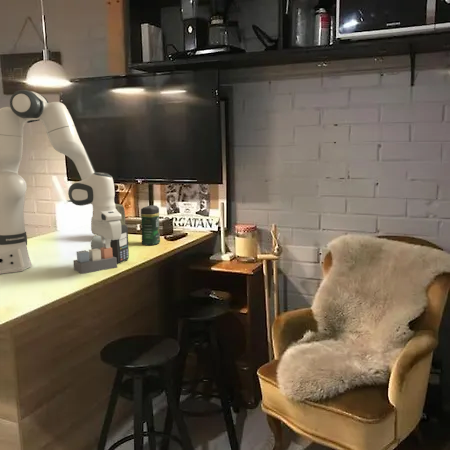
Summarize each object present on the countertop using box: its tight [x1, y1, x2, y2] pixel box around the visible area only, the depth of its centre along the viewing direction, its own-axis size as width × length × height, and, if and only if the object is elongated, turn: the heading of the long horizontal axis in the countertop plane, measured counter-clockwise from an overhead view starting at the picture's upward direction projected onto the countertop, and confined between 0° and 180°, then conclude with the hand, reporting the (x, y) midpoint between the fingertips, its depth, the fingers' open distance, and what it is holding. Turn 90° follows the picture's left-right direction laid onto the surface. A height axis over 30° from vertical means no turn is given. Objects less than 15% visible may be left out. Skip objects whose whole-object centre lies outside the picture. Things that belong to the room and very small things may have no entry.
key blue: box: [76, 250, 89, 263], centre depth 216 cm, size 4×4×6 cm
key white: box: [88, 249, 101, 261], centre depth 219 cm, size 4×4×6 cm
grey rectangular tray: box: [73, 257, 118, 275], centre depth 220 cm, size 15×8×4 cm, turn 127°
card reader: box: [110, 224, 130, 265], centre depth 230 cm, size 9×4×15 cm, turn 160°
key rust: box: [100, 247, 113, 259], centre depth 222 cm, size 4×4×6 cm
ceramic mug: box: [90, 234, 111, 250], centre depth 250 cm, size 11×8×8 cm
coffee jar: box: [140, 204, 161, 246], centre depth 265 cm, size 10×8×19 cm
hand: (106, 247), depth 222 cm, fingers closed, pressing on key rust
